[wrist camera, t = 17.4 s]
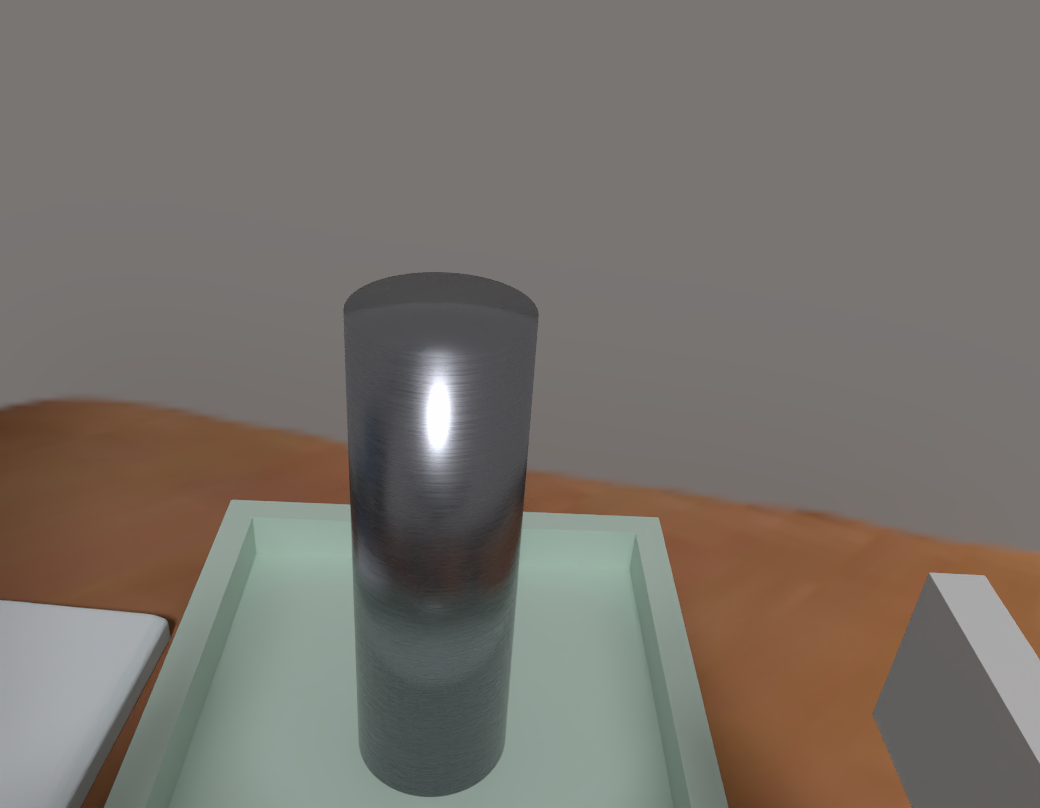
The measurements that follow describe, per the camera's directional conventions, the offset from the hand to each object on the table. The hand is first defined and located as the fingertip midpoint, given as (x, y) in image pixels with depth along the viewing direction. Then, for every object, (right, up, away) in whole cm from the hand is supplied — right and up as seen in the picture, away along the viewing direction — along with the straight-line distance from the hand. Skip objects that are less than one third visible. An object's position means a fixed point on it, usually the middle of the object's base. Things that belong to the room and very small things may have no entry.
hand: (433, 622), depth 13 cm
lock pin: (-1, -7, +16) cm, 17 cm away
